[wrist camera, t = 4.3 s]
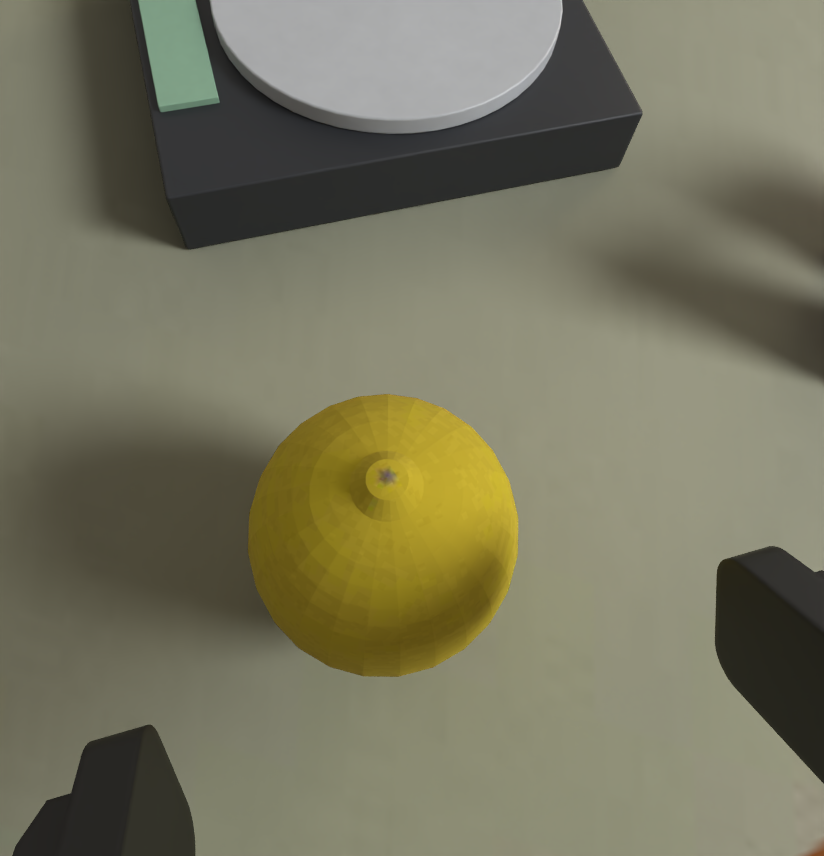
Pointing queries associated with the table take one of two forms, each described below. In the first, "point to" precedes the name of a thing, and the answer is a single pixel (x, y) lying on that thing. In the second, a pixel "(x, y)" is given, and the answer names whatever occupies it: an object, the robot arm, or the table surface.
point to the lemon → (383, 535)
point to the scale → (370, 105)
